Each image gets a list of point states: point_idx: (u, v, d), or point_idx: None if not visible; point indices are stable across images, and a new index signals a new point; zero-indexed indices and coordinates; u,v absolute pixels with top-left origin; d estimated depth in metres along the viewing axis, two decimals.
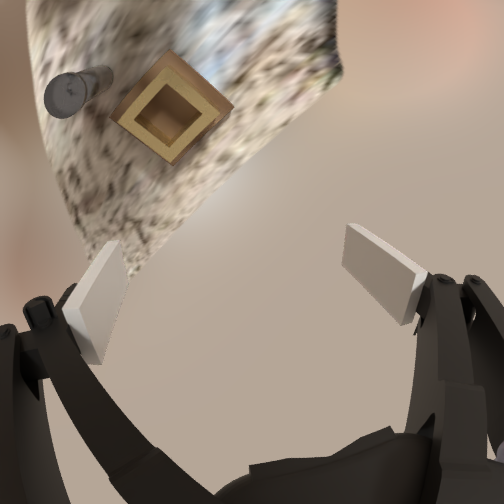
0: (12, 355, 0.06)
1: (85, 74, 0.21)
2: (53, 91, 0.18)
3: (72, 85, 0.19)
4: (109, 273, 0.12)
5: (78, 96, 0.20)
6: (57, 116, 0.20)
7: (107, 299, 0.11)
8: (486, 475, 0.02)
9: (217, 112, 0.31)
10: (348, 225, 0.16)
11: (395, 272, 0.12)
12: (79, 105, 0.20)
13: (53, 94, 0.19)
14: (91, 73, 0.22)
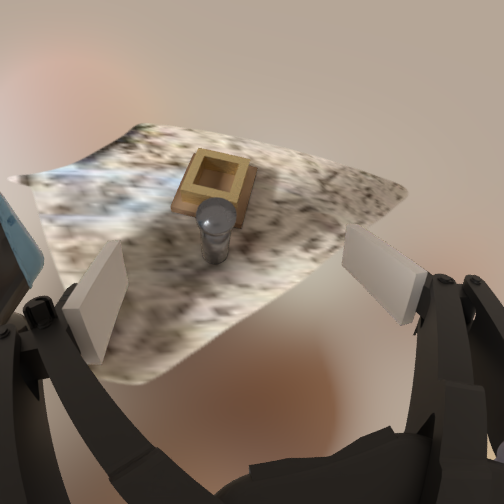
0: (12, 355, 0.06)
1: None
2: (214, 224, 0.32)
3: (204, 209, 0.33)
4: (109, 273, 0.12)
5: (212, 201, 0.34)
6: (235, 213, 0.33)
7: (107, 299, 0.11)
8: (486, 475, 0.02)
9: (198, 149, 0.45)
10: (348, 225, 0.16)
11: (395, 272, 0.12)
12: (219, 198, 0.34)
13: (217, 223, 0.33)
14: None
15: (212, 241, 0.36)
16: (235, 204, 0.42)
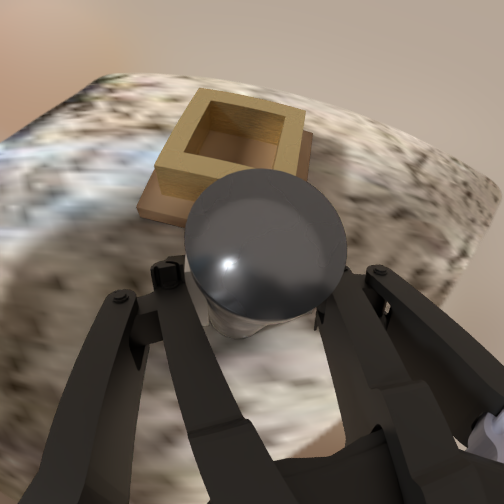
0: (125, 322, 0.08)
1: None
2: (267, 280, 0.08)
3: (221, 216, 0.08)
4: None
5: (249, 184, 0.09)
6: (340, 233, 0.08)
7: None
8: (469, 470, 0.02)
9: (199, 90, 0.20)
10: None
11: None
12: (274, 173, 0.09)
13: (279, 276, 0.08)
14: None
15: (245, 322, 0.11)
16: None
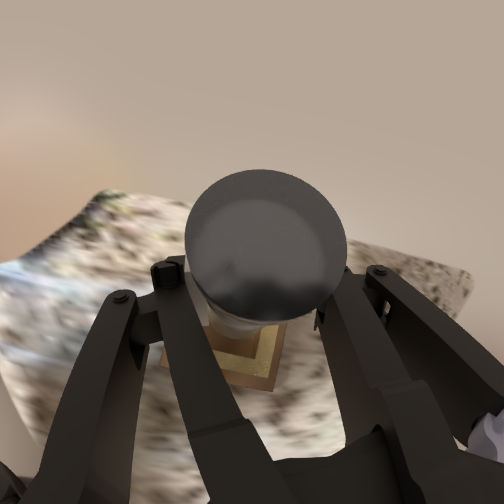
0: (125, 322, 0.08)
1: None
2: (267, 281, 0.08)
3: (221, 217, 0.08)
4: None
5: (249, 185, 0.09)
6: (340, 234, 0.08)
7: None
8: (469, 470, 0.02)
9: None
10: None
11: None
12: (274, 174, 0.09)
13: (279, 277, 0.08)
14: None
15: (245, 322, 0.11)
16: None
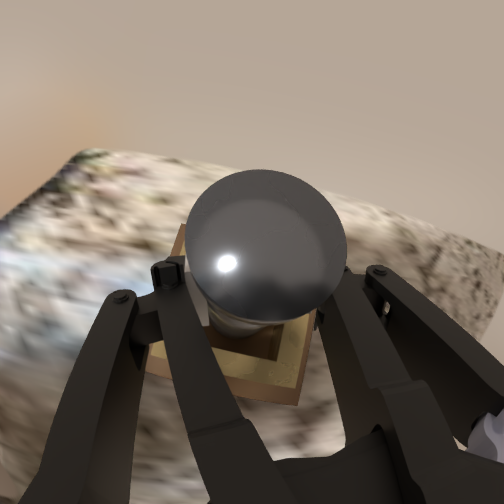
0: (125, 322, 0.08)
1: None
2: (267, 281, 0.08)
3: (221, 217, 0.08)
4: None
5: (249, 186, 0.09)
6: (339, 234, 0.08)
7: None
8: (469, 470, 0.02)
9: None
10: None
11: None
12: (274, 174, 0.09)
13: (279, 277, 0.08)
14: None
15: (245, 322, 0.11)
16: None
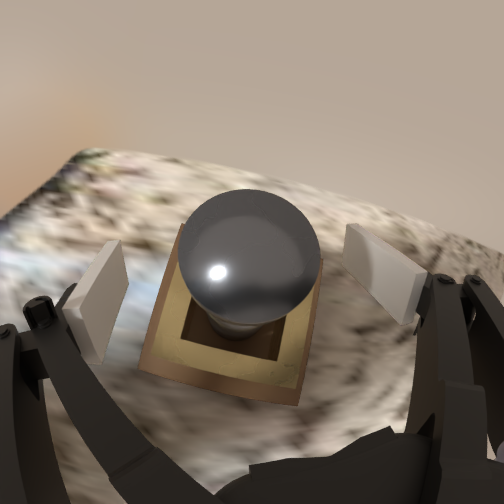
0: (12, 355, 0.06)
1: None
2: (247, 288, 0.09)
3: (209, 233, 0.09)
4: (109, 273, 0.12)
5: (234, 204, 0.10)
6: (314, 245, 0.10)
7: (107, 299, 0.11)
8: (486, 475, 0.02)
9: None
10: (348, 225, 0.16)
11: (395, 272, 0.12)
12: (257, 193, 0.10)
13: (257, 284, 0.09)
14: None
15: (235, 324, 0.12)
16: None
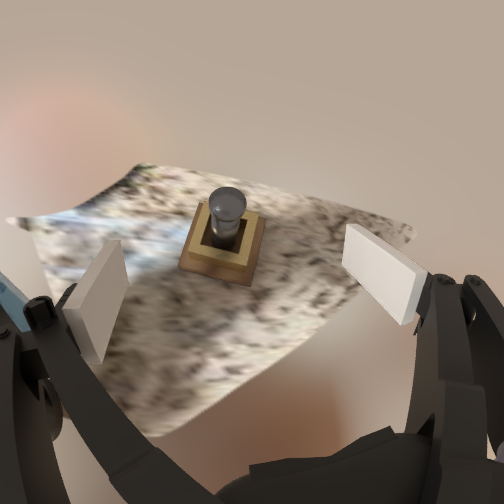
0: (12, 355, 0.06)
1: None
2: (226, 211, 0.35)
3: (217, 197, 0.35)
4: (109, 273, 0.12)
5: (224, 190, 0.36)
6: (245, 202, 0.36)
7: (107, 299, 0.11)
8: (486, 475, 0.02)
9: (204, 202, 0.45)
10: (348, 225, 0.16)
11: (395, 272, 0.12)
12: (230, 187, 0.36)
13: (228, 210, 0.35)
14: None
15: (222, 228, 0.38)
16: (244, 266, 0.42)
